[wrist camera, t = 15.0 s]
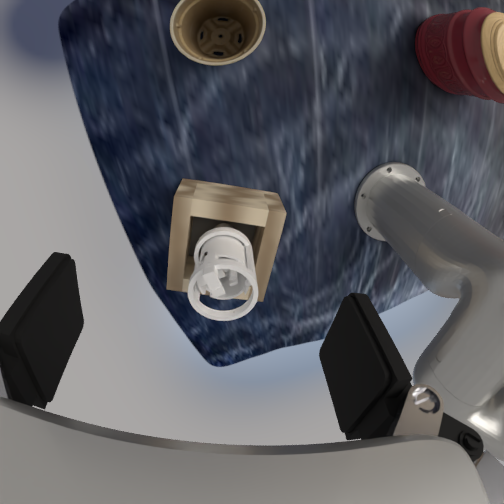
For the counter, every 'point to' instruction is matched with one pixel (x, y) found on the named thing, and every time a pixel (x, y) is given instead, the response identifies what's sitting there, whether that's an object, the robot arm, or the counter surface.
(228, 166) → the counter surface
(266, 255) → the beech holder block
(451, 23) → the canister
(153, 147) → the counter surface
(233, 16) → the flower pot
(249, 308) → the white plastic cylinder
